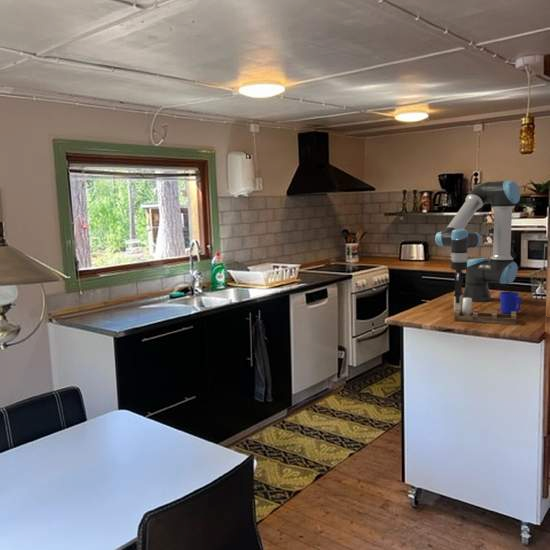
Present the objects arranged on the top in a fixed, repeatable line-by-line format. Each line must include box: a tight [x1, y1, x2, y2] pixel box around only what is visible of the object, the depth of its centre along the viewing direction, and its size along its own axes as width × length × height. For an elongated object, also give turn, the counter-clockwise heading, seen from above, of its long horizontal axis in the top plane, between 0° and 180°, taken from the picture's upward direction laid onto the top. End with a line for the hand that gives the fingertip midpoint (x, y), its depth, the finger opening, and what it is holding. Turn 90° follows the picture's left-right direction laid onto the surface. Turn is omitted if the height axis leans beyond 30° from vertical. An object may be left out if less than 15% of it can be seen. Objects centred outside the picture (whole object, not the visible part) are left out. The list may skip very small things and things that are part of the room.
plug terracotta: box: [453, 295, 463, 315], centre depth 266 cm, size 4×4×9 cm
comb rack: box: [454, 308, 517, 326], centre depth 250 cm, size 10×26×4 cm, turn 66°
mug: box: [499, 291, 522, 314], centre depth 262 cm, size 8×12×10 cm
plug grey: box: [462, 298, 473, 316], centre depth 253 cm, size 4×4×9 cm
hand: (458, 308), depth 266 cm, fingers closed on plug terracotta, 3 cm apart
